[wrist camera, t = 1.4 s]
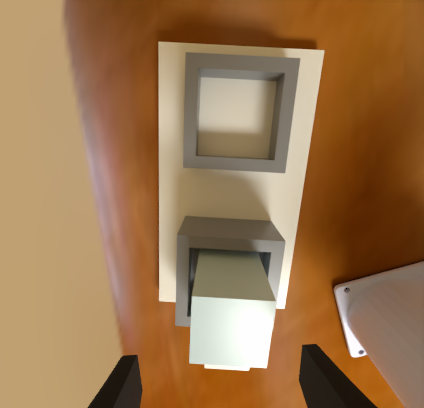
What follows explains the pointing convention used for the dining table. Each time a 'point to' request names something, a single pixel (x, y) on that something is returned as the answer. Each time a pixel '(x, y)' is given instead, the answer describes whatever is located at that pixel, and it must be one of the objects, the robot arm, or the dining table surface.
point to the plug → (231, 311)
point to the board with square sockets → (231, 158)
